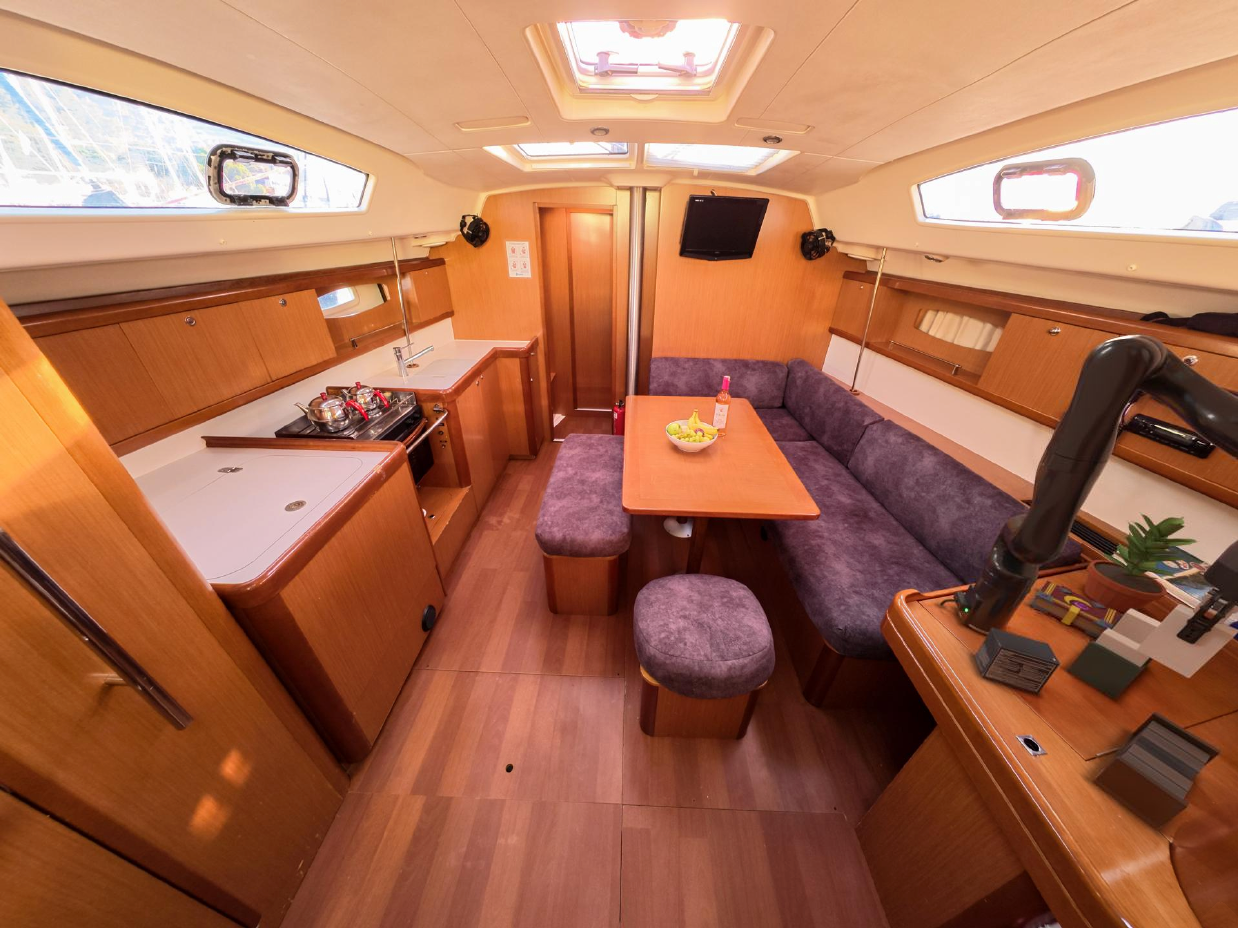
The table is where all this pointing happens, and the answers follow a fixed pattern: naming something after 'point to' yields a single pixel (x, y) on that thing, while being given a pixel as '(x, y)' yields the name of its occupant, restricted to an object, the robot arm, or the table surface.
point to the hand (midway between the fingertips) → (1187, 636)
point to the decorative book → (1075, 609)
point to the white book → (1184, 643)
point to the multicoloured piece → (1116, 654)
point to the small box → (1016, 661)
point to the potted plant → (1135, 567)
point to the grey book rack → (1155, 769)
